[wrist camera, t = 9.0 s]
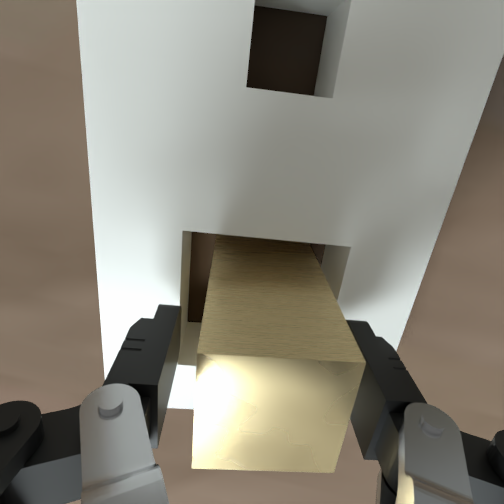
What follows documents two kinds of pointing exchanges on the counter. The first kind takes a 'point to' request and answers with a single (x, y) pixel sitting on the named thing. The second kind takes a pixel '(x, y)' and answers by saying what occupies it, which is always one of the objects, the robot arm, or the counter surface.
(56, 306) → the counter surface
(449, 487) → the robot arm
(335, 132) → the white peg hole board
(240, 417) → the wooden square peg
